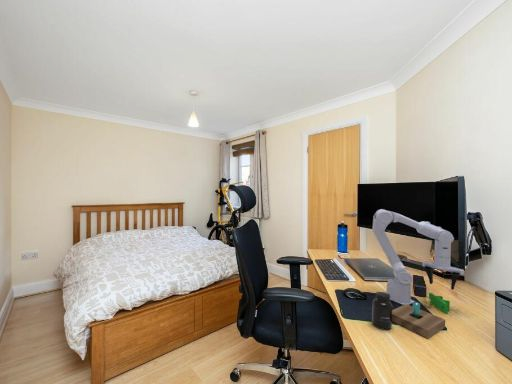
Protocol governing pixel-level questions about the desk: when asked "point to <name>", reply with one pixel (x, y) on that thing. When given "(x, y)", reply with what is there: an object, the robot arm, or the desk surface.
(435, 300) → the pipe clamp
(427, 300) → the short pin
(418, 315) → the long pin
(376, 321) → the supplement bottle
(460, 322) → the desk surface
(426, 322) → the bored board
